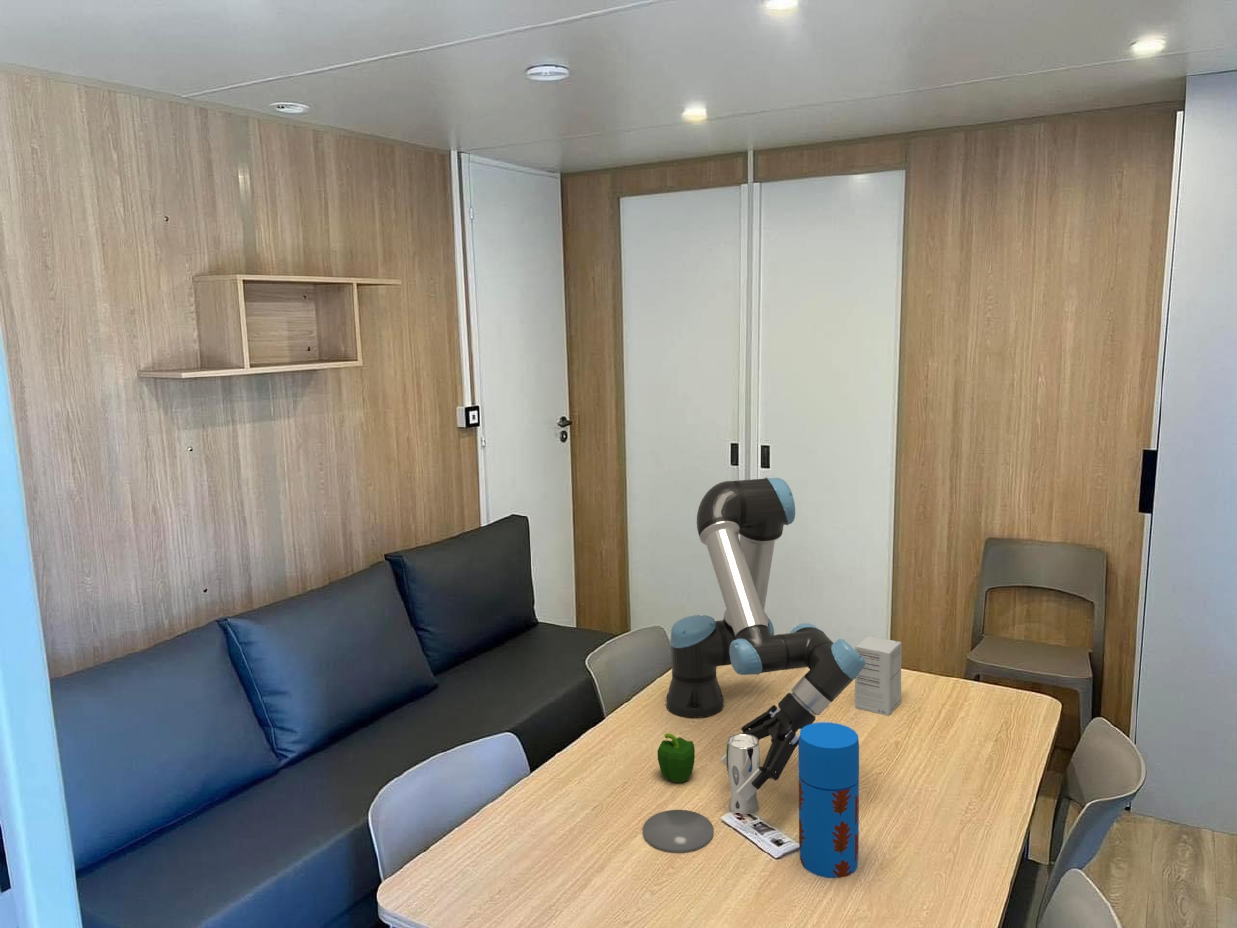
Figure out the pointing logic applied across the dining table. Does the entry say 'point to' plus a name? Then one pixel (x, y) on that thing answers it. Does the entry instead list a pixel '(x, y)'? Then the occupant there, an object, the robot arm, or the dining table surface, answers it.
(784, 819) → the dining table surface
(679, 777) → the bell pepper
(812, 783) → the thermos
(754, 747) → the metal tumbler
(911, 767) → the dining table surface
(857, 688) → the supplement box
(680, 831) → the coaster
